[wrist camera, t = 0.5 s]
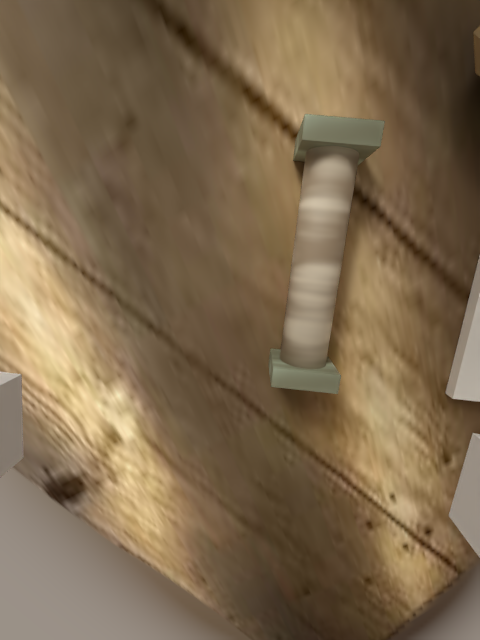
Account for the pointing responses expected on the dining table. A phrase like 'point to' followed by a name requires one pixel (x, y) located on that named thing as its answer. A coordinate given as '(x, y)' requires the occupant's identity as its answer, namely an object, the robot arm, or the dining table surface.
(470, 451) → the robot arm
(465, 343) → the bracket
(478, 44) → the low-poly potato
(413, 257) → the dining table surface
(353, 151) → the column
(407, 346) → the dining table surface
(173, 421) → the dining table surface
